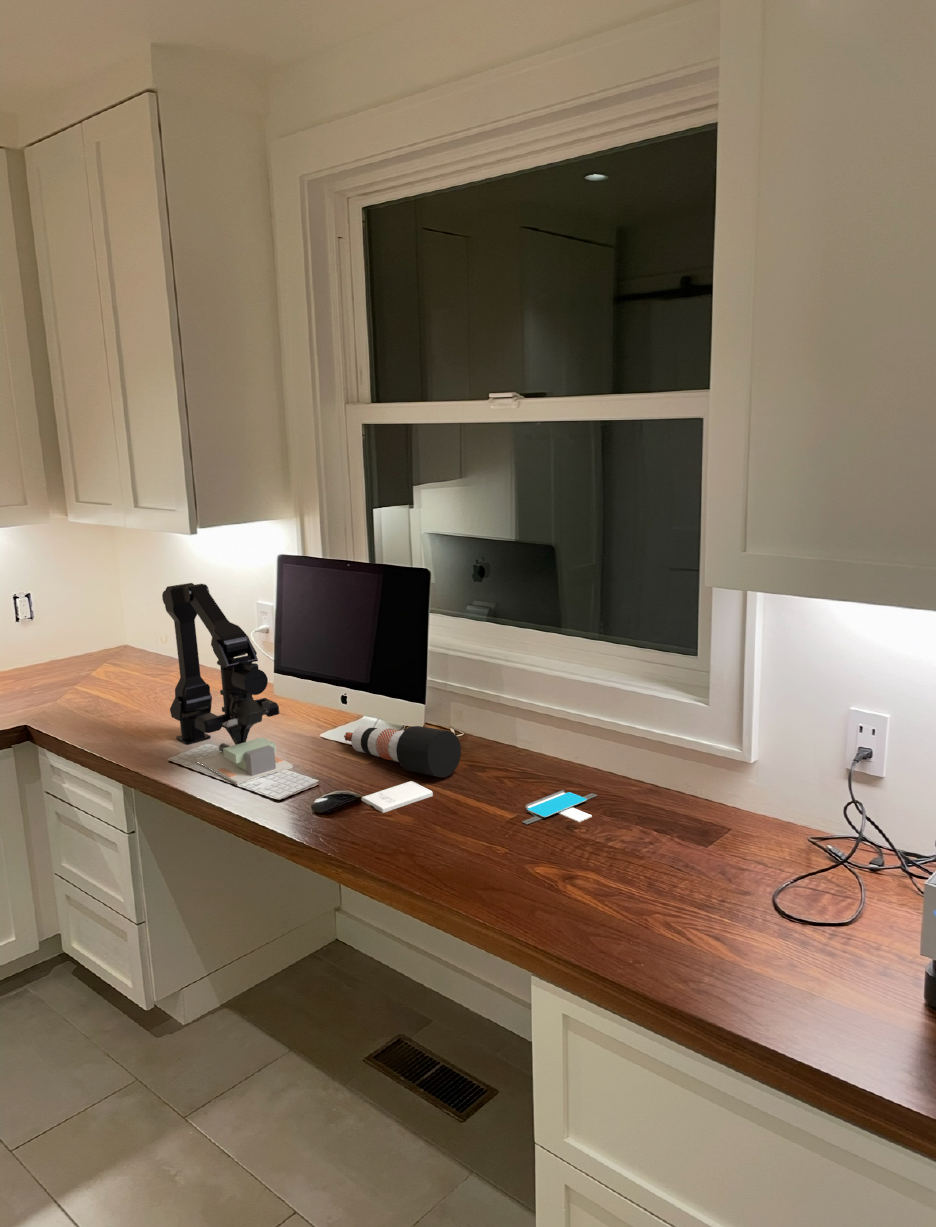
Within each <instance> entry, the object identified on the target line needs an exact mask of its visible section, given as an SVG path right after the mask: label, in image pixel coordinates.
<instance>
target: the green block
mask: <svg viewBox="0 0 936 1227" xmlns="http://www.w3.org/2000/svg"><path fill="white" fill-rule="evenodd" d="M268 745H269V746H271V747H273V748H274V752H275V753H277V748H276V743H275V742H273V741H271V740H268V739H267V738H265V737H263V736H261V737H259V738H255V739H251V740H248V741H247V740H246V742H244V743H240V744H237V745H235V744H234V745H229V746H230V747H226V748H223V754H224V757H225V758H227V759H229V760H231V761H233V762H234V765H236V766H238V767H240V768H242V769H244V770H246V761H245V752H247V751H251V750H254V749H258V748H261V747H264V746H268Z"/></svg>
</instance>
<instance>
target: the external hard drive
mask: <svg viewBox="0 0 936 1227" xmlns="http://www.w3.org/2000/svg"><path fill="white" fill-rule="evenodd" d="M433 796H434V793H433V791H432V790H431V789H428V788H427V787H425V786H422V785H420V784H419V783H417V782H415V781H412V780H410V781H407V782H404V783H401V784H398V785H394V786H391V787H389V788H385V789H383V790H379V791H376V792H374V793H371V794H370V793H369V794H367V795H364V796H361V801H362V802H363V803H365V804H367V805H369V806H370V807H372V808H374V809H376V810H377V811H379V812H381V813H383V814H384V813H387V812H390V811H393V810H396V809H398V808H402V807H405V806H408V805H410V804H413V803H417V802H419V801H422V800H425V799H428V798H431V797H433Z"/></svg>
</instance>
